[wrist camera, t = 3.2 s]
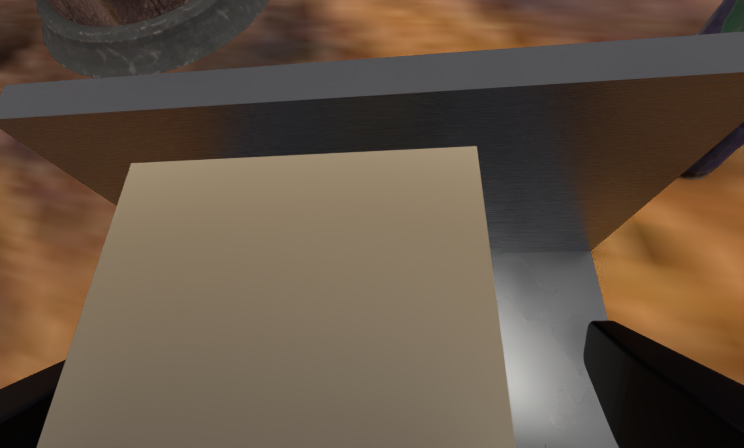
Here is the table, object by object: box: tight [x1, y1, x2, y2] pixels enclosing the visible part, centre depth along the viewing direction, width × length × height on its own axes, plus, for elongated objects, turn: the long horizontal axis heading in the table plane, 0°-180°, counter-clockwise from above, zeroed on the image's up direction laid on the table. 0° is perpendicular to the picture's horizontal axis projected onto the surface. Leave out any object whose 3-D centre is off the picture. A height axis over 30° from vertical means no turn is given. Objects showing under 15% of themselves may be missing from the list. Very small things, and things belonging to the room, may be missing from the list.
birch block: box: [37, 146, 516, 448], centre depth 8 cm, size 4×3×12 cm
